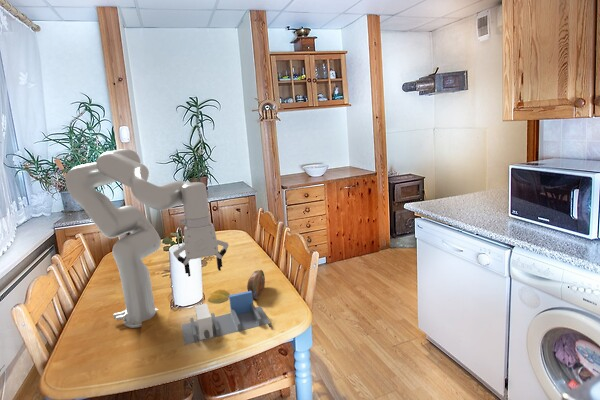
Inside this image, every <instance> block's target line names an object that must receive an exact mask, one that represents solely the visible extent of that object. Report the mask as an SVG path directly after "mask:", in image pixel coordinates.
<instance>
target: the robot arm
mask: <svg viewBox="0 0 600 400" xmlns="http://www.w3.org/2000/svg"><path fill="white" fill-rule="evenodd" d="M149 174H150V173H149V169H148V167H147V166H146V165H144V164H143V163H141V158H140V156H139V155H138V153H137V152H136V151H134V150H133V149H130V148H122V149H115V150H109V151H105V152H103V153H101V154H100V155H99V156H98V157H97V159H96V161H95V162H89V163H84V164H80V165H76V166H74V167H72V168H71V169H69V170H68V171H67V173H66V174H65V187H66V189H67V192H68V193H69V196H70V197H71V198H72V199H73V200H74V201H75V202H76V203H77V205H79V206H80V207H81V208H82V209H83V210H84V212H85V213H86V214H87V216H88V217H89V218H90V219H91V221H92V222H93V223H94V224H95V226H96V227H97V229H98V230H99V231H100V232H101V234H102V235H103V236H104V237H105V238H108V239H116V238H118V237H120V236H123V235H125V234H127V233H130V234H128V235H126V236H123V237H121V238H120V239H118V240H117V241H116V242H115V243H114V245H113V246H112V250H111V251H112V256H113V259H114V262H115V264H116V266H117V269H118V272H119V277H120V278H119V279H120V282H121V289H122V293H123V294H122V295H123V300H124V305H125V309H124V310H122V311H120V312H119V311H118V312H114V313H113V314H112V315H113V319H114V320H115V319H116V321H121V320H123V322H122V323H123V325H124V326H125V327H127V328H129V329H130V328H131V329H134V328H136V329H137V328H142V325H143V324H142V323H143V322H146V321H148V320H151V319H152V318H153V317H155V315H156V313H157V312H156V311H159V308H157V307H156V305H155V299H154V293H153V287H152V281H151V276H150V270H149V268H148V267H147V265H146V264H145V263H144V262H143V259H145V258H146V257H149V256H150V255H153V254H154V253H155V252H157V251H158V250H159V249H160V247H161V241H162V239H161V237H160V235H159V233H158V232H157V230H156V229H155V227H154V226H153V225H152V223H151V222H150V220H149V219H148V218H147V217H146V215H145V214H144V213H143V212H142V211H141V210H140V208H138V207H136V206H134V205H123V206H121V207H116V206H115V205H114V204H113V203H112V201H111V199H109V197H108V196H107V195H105V194H104V193H102V192H100V191H98V190H97V189H95V188H98V187H101V186H106V185H110V184H113V183H116V182H118V183H120V184H122V185H124V186H127V187H129V188H130V190H131V193H132V195H133V196H134V197H135V199H136V200H137V201H138V202H140V203H141V204H143V205H145V206H146V207H149V208H151V209H153V210H157V211H167V210H170V209H173V208H174V207H178V206H181V205H182V206H183V213H184V218H183V219H182V220H180V225H181V226H182V225H185V226H184V228H183V245H181V246H180V247H178V248H177V249H176V250H174V251H173V252H172V254H173V256H174V257H175V259H176V260H177V261H178V262H180V263H181V264H183V266H184V271H185V274H187V276H188V277H191V275H192V274H191V268H190V260H196V259H201V258H208V257H213V256H215V257H216V264H217V270H218V271H222V267H223V261H222V260H223V257H224V256H225V254H227V250H228V248H229V242H226V241H223V240H219V239H217V233H216V230H215V226H214V224H213V222H211V218H210V208H209V199H208V191H207V187H206V184H205V183H203V182H199V181H195V182H194V181H193V182H189V181H184V180H183V181H182V180H177V181H172V182H168V183H165V184H162V185H156V184H154V183H152V182H149V181H148V180H149V177H150V175H149ZM219 246H222V249H221V250H220V251H219ZM182 252H184V254H185V256H184V257H183V256H181V255H180V254H181V253H182Z"/></svg>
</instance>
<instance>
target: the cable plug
mask: <svg viewBox="0 0 600 400" xmlns="http://www.w3.org/2000/svg"><path fill="white" fill-rule="evenodd" d="M194 311H195V318H196V319H195V320H196V321H197V326H198V330H199V335H200V339H201V340H202V339H206V338H210V337H213V330H212V322H211V313H210V312H211V311H210V310H209V306H208V303H207V302H205V303H202V304H197V305H194ZM210 339H211V338H210ZM206 340H207V339H206ZM202 341H203V340H202Z"/></svg>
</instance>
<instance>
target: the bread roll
mask: <svg viewBox="0 0 600 400" xmlns="http://www.w3.org/2000/svg"><path fill="white" fill-rule="evenodd" d="M229 295H231V293H230V292H229V291H227V290H226V289H217V290H214V291H213V292H212V293H211V295H210V296H209V297H208V298H207V302H209V303H211V304H219V303H223V302H225V301H227V300H229Z"/></svg>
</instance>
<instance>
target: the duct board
mask: <svg viewBox="0 0 600 400" xmlns="http://www.w3.org/2000/svg"><path fill="white" fill-rule="evenodd" d="M228 300H229V307H230V308H229V309H230V313H225V314H222V315H217V316H215V313H214V312H211V313H210V316H211V322H212V330H213V337H210V338H206V339H202V340H201V339H200V335H199V330H198V326H197V320H195V319H194V317H190V318H189V321H190V322H187V323H184V324H181V331H182V335H183V343H184V345H185V346H186V345H190V344H193V343H197V342H201V341H205V340H209V339H214V338H218V337H222V336H225V335H228V334H229V335H230V334H233V333H238V332H241V331H245V330H249V329H254V328H257V327H262V326H266V325H268V327H269V328H272V325H271V324H272V323H271V322H270V320H269V318H268V316H267V314H266V313H265V311H264V309H263V307H262V305H260V306H255V304H254V299H253V297H252V291H248V290H247V291H244V292H238V293H234V294H230V295H229V298H228Z"/></svg>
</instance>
